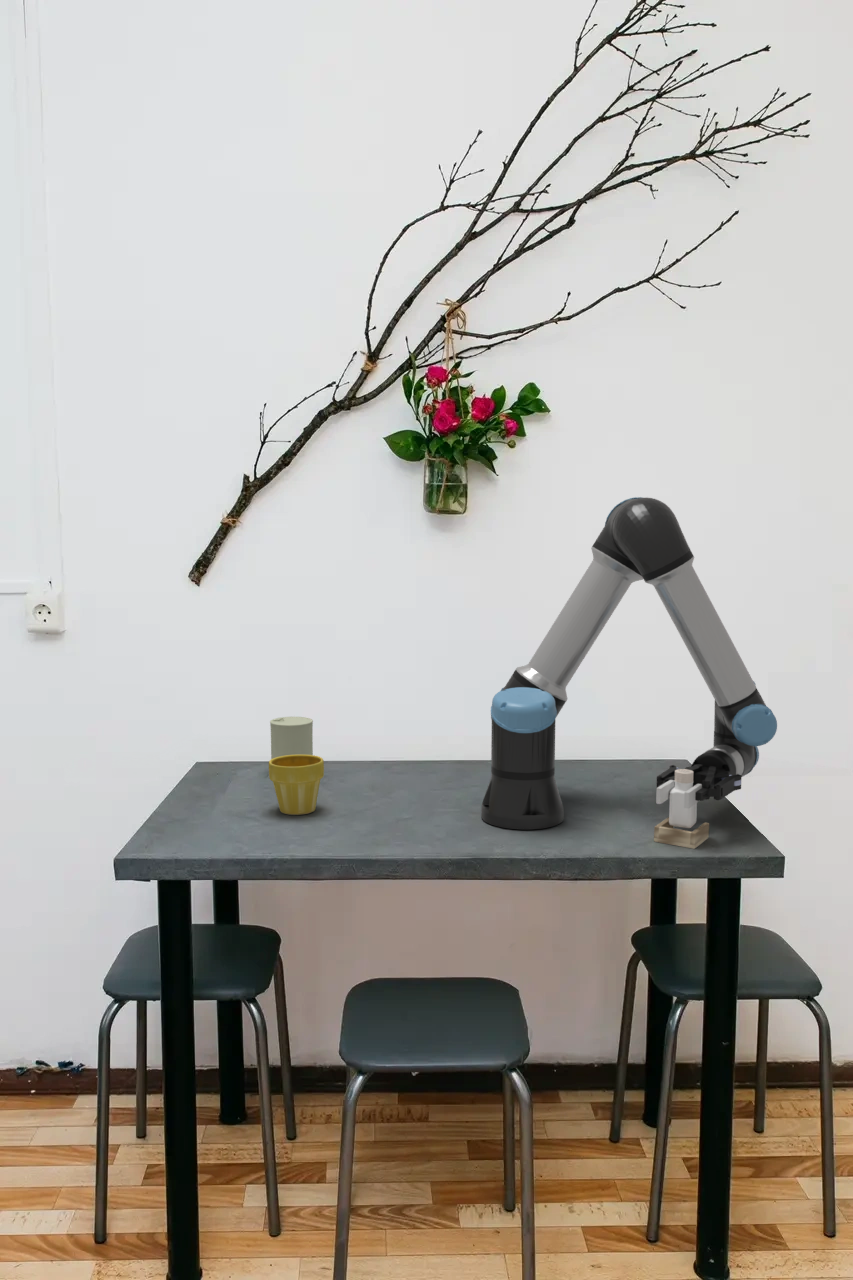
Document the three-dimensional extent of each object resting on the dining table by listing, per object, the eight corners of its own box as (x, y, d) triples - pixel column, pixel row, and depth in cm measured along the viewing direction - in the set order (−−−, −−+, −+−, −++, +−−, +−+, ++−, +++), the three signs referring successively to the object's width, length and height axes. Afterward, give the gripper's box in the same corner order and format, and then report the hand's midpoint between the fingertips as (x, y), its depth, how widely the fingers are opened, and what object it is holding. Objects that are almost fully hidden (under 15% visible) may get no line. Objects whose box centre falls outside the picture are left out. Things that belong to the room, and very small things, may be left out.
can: (277, 767, 235) (276, 713, 233) (318, 768, 233) (317, 715, 232) (265, 777, 225) (264, 722, 224) (307, 779, 224) (307, 723, 223)
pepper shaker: (697, 823, 185) (698, 770, 184) (691, 829, 181) (692, 775, 180) (674, 820, 187) (675, 767, 185) (667, 826, 183) (669, 772, 182)
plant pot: (263, 806, 204) (262, 756, 203) (315, 800, 208) (315, 751, 207) (277, 820, 195) (276, 768, 194) (331, 814, 199) (330, 763, 198)
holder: (653, 841, 183) (654, 826, 183) (668, 830, 189) (669, 816, 189) (694, 848, 179) (695, 833, 179) (708, 837, 185) (709, 823, 185)
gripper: (762, 795, 194) (722, 828, 175) (671, 782, 203) (623, 812, 184) (764, 755, 193) (723, 783, 174) (672, 743, 202) (624, 769, 183)
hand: (672, 798), depth 179 cm, fingers closed on pepper shaker, 4 cm apart
